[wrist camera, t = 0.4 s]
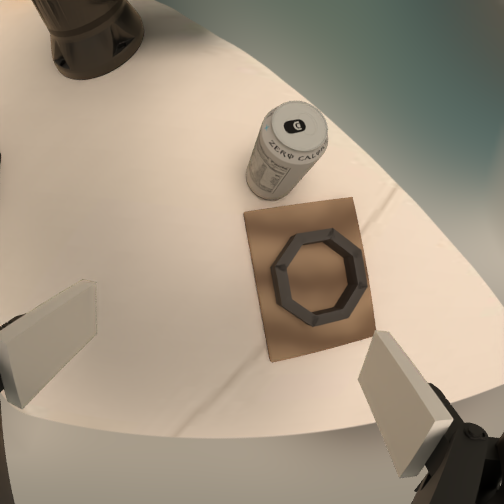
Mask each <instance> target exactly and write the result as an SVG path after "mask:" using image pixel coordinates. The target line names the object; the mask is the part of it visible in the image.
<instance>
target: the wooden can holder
mask: <svg viewBox="0 0 504 504" xmlns="http://www.w3.org/2000/svg"><path fill="white" fill-rule="evenodd" d="M244 219H245V225H246V231H247V236H248V242H249V247H250V253H251V258H252V264H253V270H254V275H255V281H256V286H257V292H258V297H259V303H260V308H261V314H262V319H263V325H264V330H265V336H266V342H267V347H268V353H269V358H270V361H271V362H277V361H281V360H286V359H290V358H294V357H298V356H303V355H307V354H311V353H315V352H319V351H322V350H326V349H330V348H334V347H337V346H341V345H345V344H348V343H352V342H355V341H359V340H362V339H365V338H369V337H372V336H373V334H374V331H375V330H376V327H375V319H374V311H373V304H372V298H371V291H370V285H369V278H368V272H367V267H366V261H365V255H364V250H363V245H362V240H361V235H360V230H359V225H358V220H357V215H356V211H355V206H354V202H353V197H349V198H341V199H333V200H325V201H317V202H310V203H303V204H295V205H288V206H281V207H274V208H268V209H261V210H254V211H248V212H244Z"/></svg>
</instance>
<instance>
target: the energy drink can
mask: <svg viewBox="0 0 504 504" xmlns="http://www.w3.org/2000/svg"><path fill="white" fill-rule="evenodd" d="M327 145H328V126H327V122H326V120H325V118H324V116H323V115H322V113H321V112H320V111H319V110H318V109H317V108H315V107H314V106H312V105H311V104H308V103H306V102H302V101H289V102H285V103H283V104H281V105H280V106H278V107H276V108H274V109H272V110H271V111H270V112H269V113H268V114H267V115H266V116H265V118H264V120H263V122H262V125H261V128H260V131H259V134H258V137H257V140H256V143H255V146H254V149H253V152H252V156H251V159H250V162H249V165H248V168H247V172H246V178H247V183H248V185H249V187H250V188H251V190H252V191H253V192H254V193H255V194H256V195H258V196H260V197H262V198H264V199H269V200H275V199H280V198H282V197H284V196H286V195H287V194H288V193H289V192H290V191H291V190H292V189H293V188H294V187H295V185H296V184H297V183H298V182H299V181H300V180H301V179H302V178H303V176H304V175H305V174H306V173H307V172H308V171H309V170H310V169H311V167H312V166H313V165H314V164H315V163H316V162H317V161H318V160H319V158H320V157H321V156H322V155H323V154H324V152H325V150H326V148H327Z"/></svg>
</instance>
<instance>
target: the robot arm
mask: <svg viewBox="0 0 504 504" xmlns="http://www.w3.org/2000/svg"><path fill="white" fill-rule="evenodd" d="M32 2H33V4H34V5H35V7H36V9H37V11H38V12H39V14H40V16H41V18H42V20H43V21H44V23H45V25H46V26H47V28H48V30H49V32H50V37H51V49H52V58H53V61H54V63H55V65H56V66H57V68H58V69H59V71H60V72H61V73H62V74H63V75H64V76H66V77H68V78H72V79H89V78H94V77H98V76H101V75H103V74H106V73H108V72H110V71H112V70H114V69H116V68H117V67H119V66H120V65H122V64H123V63H124V62H126V61H127V60H128V59H129V58H130V57H131V56H132V55H133V54H134V53H135V52H136V50H137V49H138V48H139V46H140V44H141V42H142V39H143V35H144V29H143V25H142V20H141V18H140V16H139V14H138V13H137V12H136V10H135V9H134V8H133V7H132V6H131V4H130V3H129V2H128V1H127V0H32ZM96 334H97V324H96V282H92V281H88V280H84V279H82V280H81V281H79V282H77V283H76V284H74V285H72V286H71V287H69V288H67V289H66V290H64V291H62V292H61V293H59V294H57V295H56V296H54V297H52V298H51V299H49V300H48V301H46V302H44V303H43V304H41V305H39V306H38V307H36V308H35V309H33V310H31V311H30V312H28V313H26V314H23V315H19V316H16V317H14V318H13V319H11V320H10V321H8V323H5V324H3V325H2V327H1V326H0V392H1V391H2V390H3V389H4V391H5V395H6V398H7V401H8V402H9V403H11V404H13V405H15V406H17V407H19V408H21V409H23V408H24V407H25V406H26V405H27V404H28V403H29V402H30V401H31V400H32V399H33V398H34V397H35V396H36V395H37V394H38V393H39V391H40V390H41V389H42V388H43V387H44V386H45V385H46V384H47V383H48V382H49V381H50V380H51V379H52V378H53V377H54V376H55V375H56V374H57V373H58V372H59V371H60V370H61V369H62V368H63V367H64V366H65V365H66V364H67V363H68V362H69V361H70V360H71V359H72V358H73V357H74V356H75V355H76V354H77V353H78V352H79V351H80V350H81V349H82V348H83V347H84V346H85V345H86V344H87V343H88V342H89V341H90V340H91V339H92V338H93V337H94V336H95V335H96ZM358 381H359V383H360V385H361V388H362V390H363V392H364V395H365V397H366V399H367V401H368V404H369V406H370V408H371V411H372V413H373V416H374V418H375V420H376V423H377V425H378V427H379V430H380V432H381V434H382V437H383V439H384V442H385V444H386V447H387V449H388V452H389V454H390V456H391V459H392V462H393V464H394V467H395V469H396V472H397V474H398V477H399V478H404V477H413V476H417V475H418V474H419V472H420V471H421V469H422V468H423V467H424V465H425V466H426V468H427V469H428V474H427V475H426V476H425V477H424V479H423V480H422V481H421V483H420V484H419V485H418V487H417V488H416V489H415V490H414V491H415V492H417V493H416V495H415V497H414V499H413V501H412V503H411V504H504V433H503V434H502V436H501V437H500V438H494V437H488V435H487V433H486V431H485V430H484V429H482V428H481V427H480V426H478V425H476V424H473V423H464V422H463V420H462V419H461V418H460V416H459V415H458V414H457V412H456V411H455V409H454V408H453V407H452V405H450V403H449V401H448V400H447V399H445V398H446V397H445V396H444V395H443V393H442V392H441V391H440V389H438V388H437V387H436V386H434V385H433V384H432V383H427V381H426V380H425V379H424V377H423V376H422V374H421V373H420V372H419V370H418V369H417V368H416V366H415V365H414V364H413V362H412V361H411V360H410V358H409V357H408V356H407V354H406V353H405V352H404V351H403V349H402V348H401V347H400V345H399V344H398V343H397V341H396V340H395V339H394V338H393V336H392V335H391V334H390V332H386V331H376V330H375V331H374V334H373V338H372V341H371V344H370V347H369V350H368V352H367V355H366V358H365V361H364V364H363V367H362V369H361V372H360V375H359V378H358ZM0 402H1V401H0ZM501 482H502V483H501ZM500 483H501V486H500ZM0 504H15V503H14V499H13V494H12V490H11V485H10V479H9V474H8V468H7V462H6V455H5V448H4V439H3V430H2V417H1V403H0Z"/></svg>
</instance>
